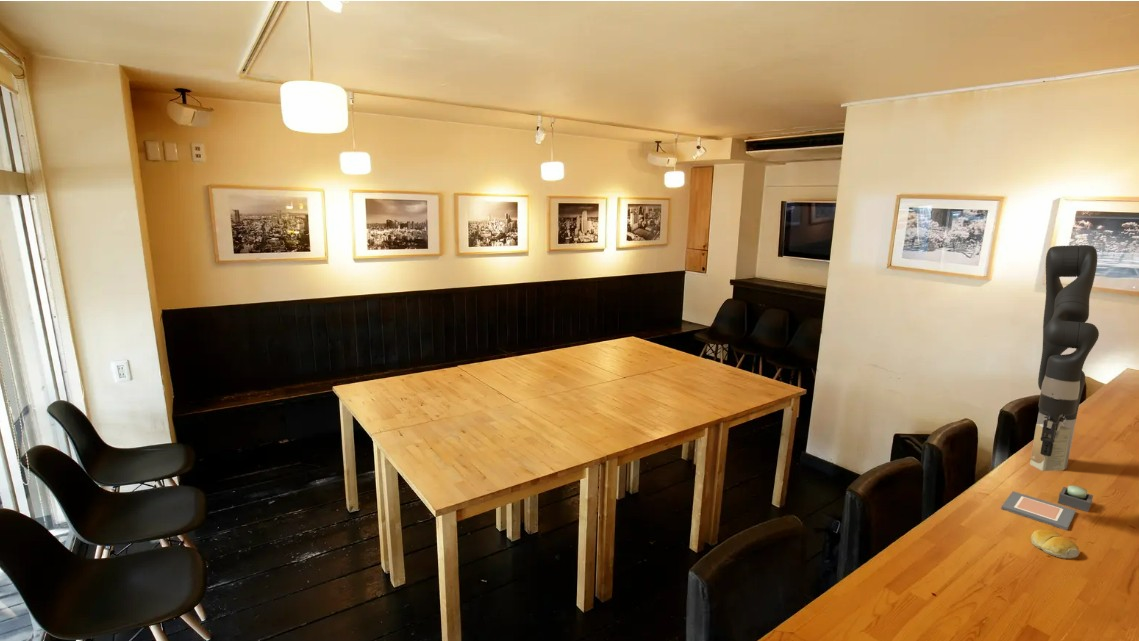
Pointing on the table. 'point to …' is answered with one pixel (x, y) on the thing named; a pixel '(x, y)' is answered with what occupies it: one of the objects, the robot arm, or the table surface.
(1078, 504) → the button housing
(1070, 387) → the robot arm
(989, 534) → the table surface
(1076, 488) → the button
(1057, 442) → the skincare box
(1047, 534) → the bread roll
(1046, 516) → the picture board
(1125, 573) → the table surface
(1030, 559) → the table surface
